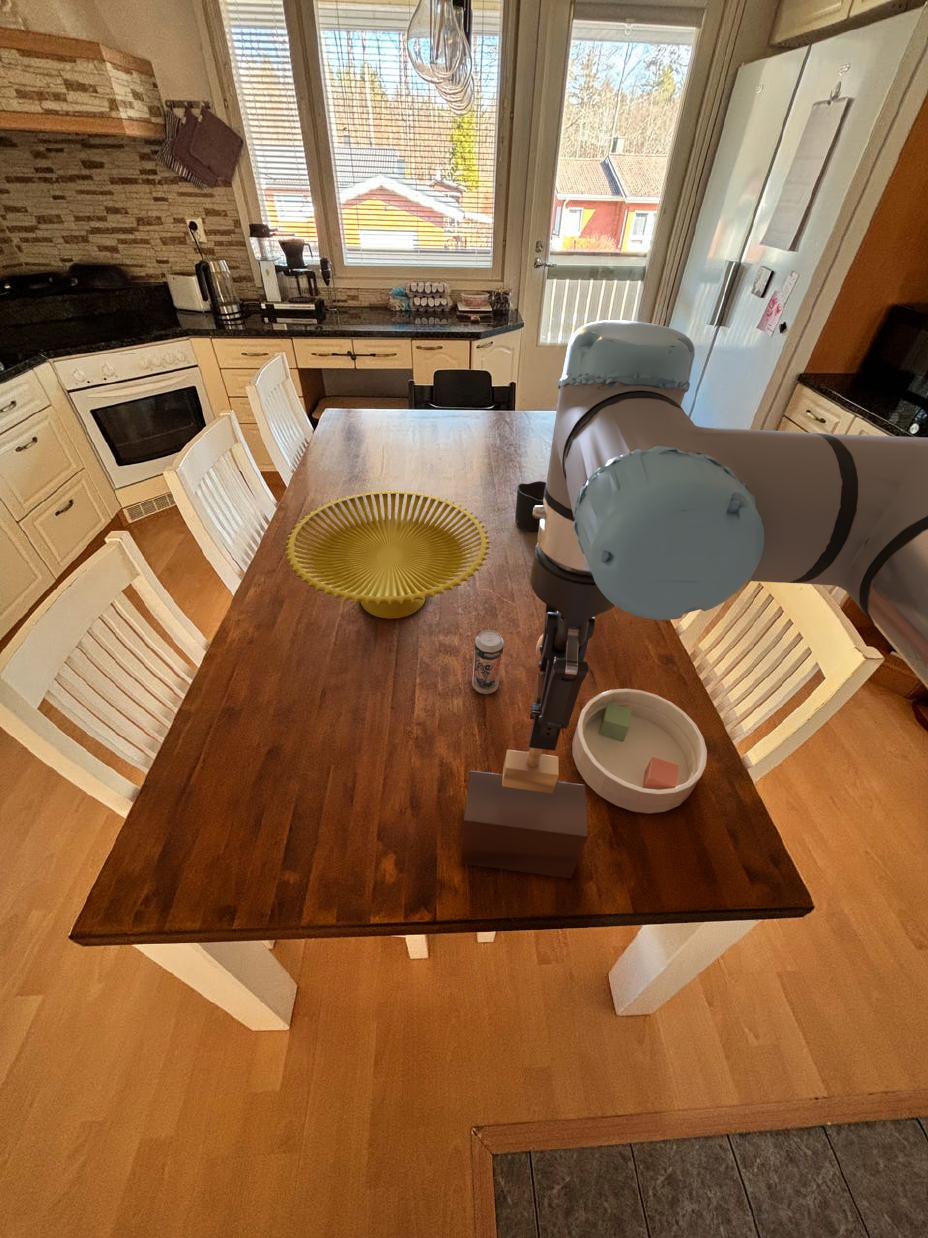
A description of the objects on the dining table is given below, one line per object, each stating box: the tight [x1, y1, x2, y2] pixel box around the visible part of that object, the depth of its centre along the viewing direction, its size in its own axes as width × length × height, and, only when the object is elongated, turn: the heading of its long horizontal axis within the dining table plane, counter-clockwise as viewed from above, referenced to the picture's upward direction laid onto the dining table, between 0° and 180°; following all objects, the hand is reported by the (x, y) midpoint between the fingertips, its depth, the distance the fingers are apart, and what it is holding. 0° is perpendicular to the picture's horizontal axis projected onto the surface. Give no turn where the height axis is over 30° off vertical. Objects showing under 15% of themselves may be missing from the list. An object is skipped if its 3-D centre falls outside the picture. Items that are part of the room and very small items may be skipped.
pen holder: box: [514, 480, 547, 532], centre depth 136 cm, size 9×9×10 cm
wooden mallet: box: [502, 674, 560, 793], centre depth 58 cm, size 6×3×17 cm, turn 83°
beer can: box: [471, 629, 505, 695], centre depth 92 cm, size 5×5×12 cm
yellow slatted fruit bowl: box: [282, 489, 491, 620], centre depth 109 cm, size 40×40×15 cm
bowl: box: [571, 688, 708, 814], centre depth 84 cm, size 19×19×6 cm
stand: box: [460, 770, 589, 879], centre depth 70 cm, size 7×15×12 cm, turn 83°
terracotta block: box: [643, 757, 679, 790], centre depth 80 cm, size 4×4×4 cm
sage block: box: [599, 702, 632, 742], centre depth 88 cm, size 4×4×4 cm
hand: (542, 731), depth 57 cm, fingers closed on wooden mallet, 3 cm apart
